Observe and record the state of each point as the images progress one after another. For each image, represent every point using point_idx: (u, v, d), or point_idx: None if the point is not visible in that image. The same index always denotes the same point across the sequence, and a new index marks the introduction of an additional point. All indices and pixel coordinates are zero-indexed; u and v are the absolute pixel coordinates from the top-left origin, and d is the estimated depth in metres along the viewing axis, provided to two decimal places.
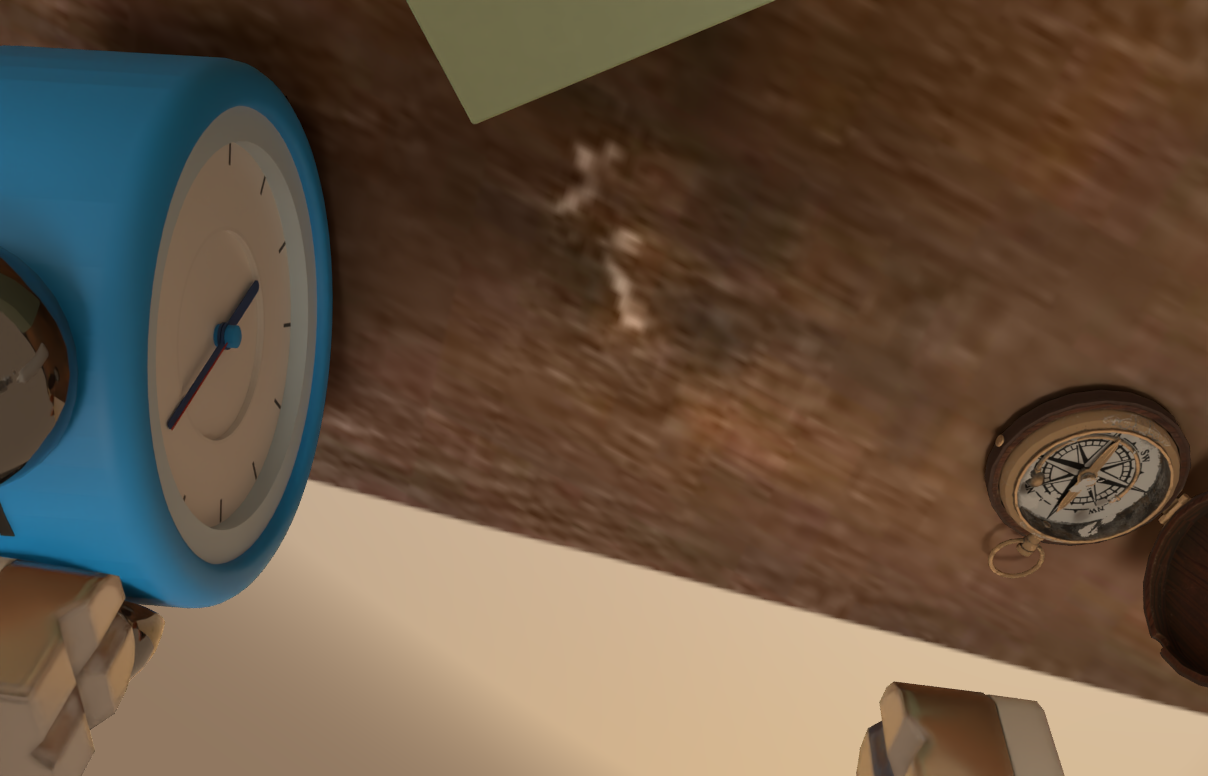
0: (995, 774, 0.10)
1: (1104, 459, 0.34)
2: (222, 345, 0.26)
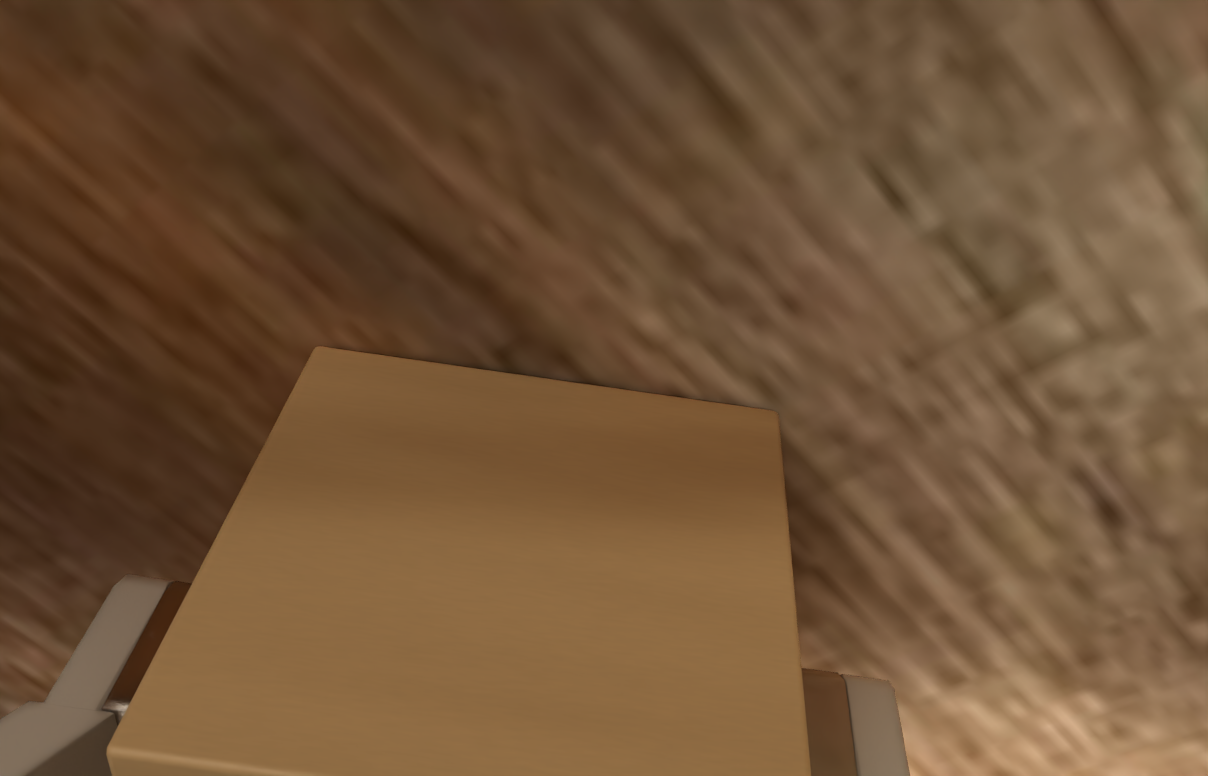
0: (835, 752, 0.10)
1: None
2: None
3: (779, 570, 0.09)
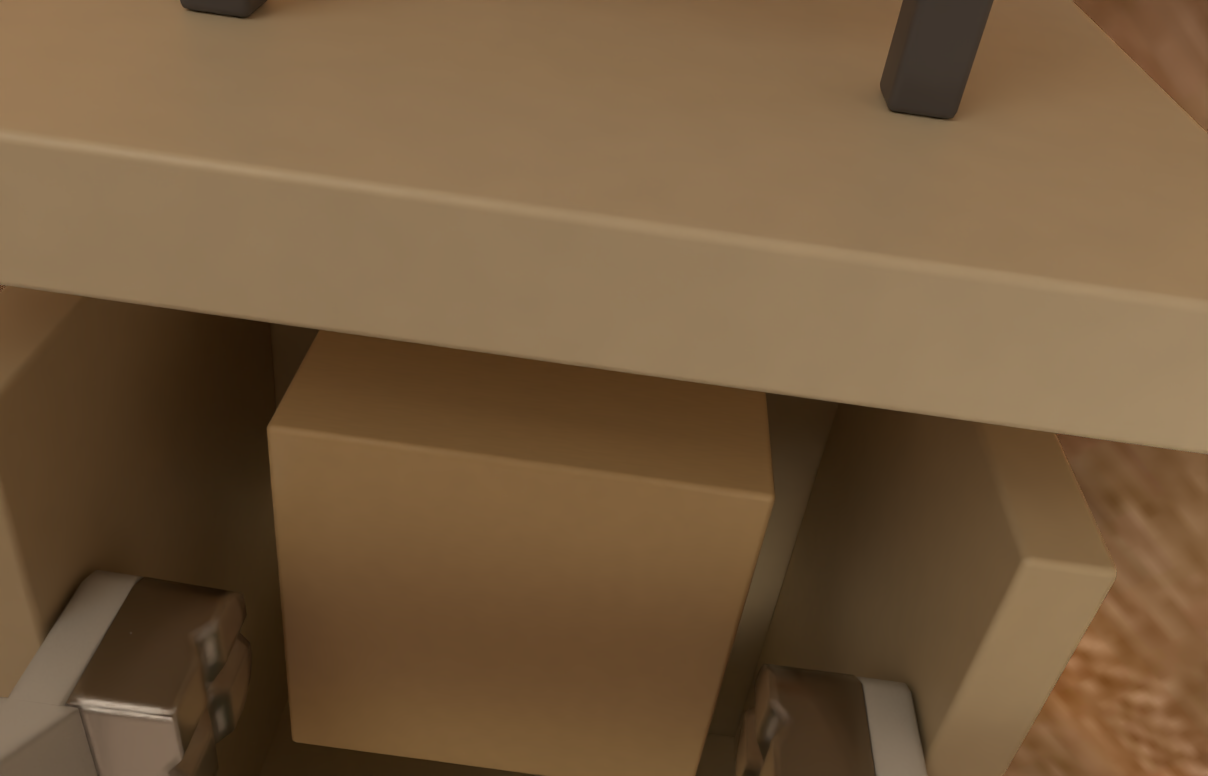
0: (852, 754, 0.10)
1: None
2: None
3: None
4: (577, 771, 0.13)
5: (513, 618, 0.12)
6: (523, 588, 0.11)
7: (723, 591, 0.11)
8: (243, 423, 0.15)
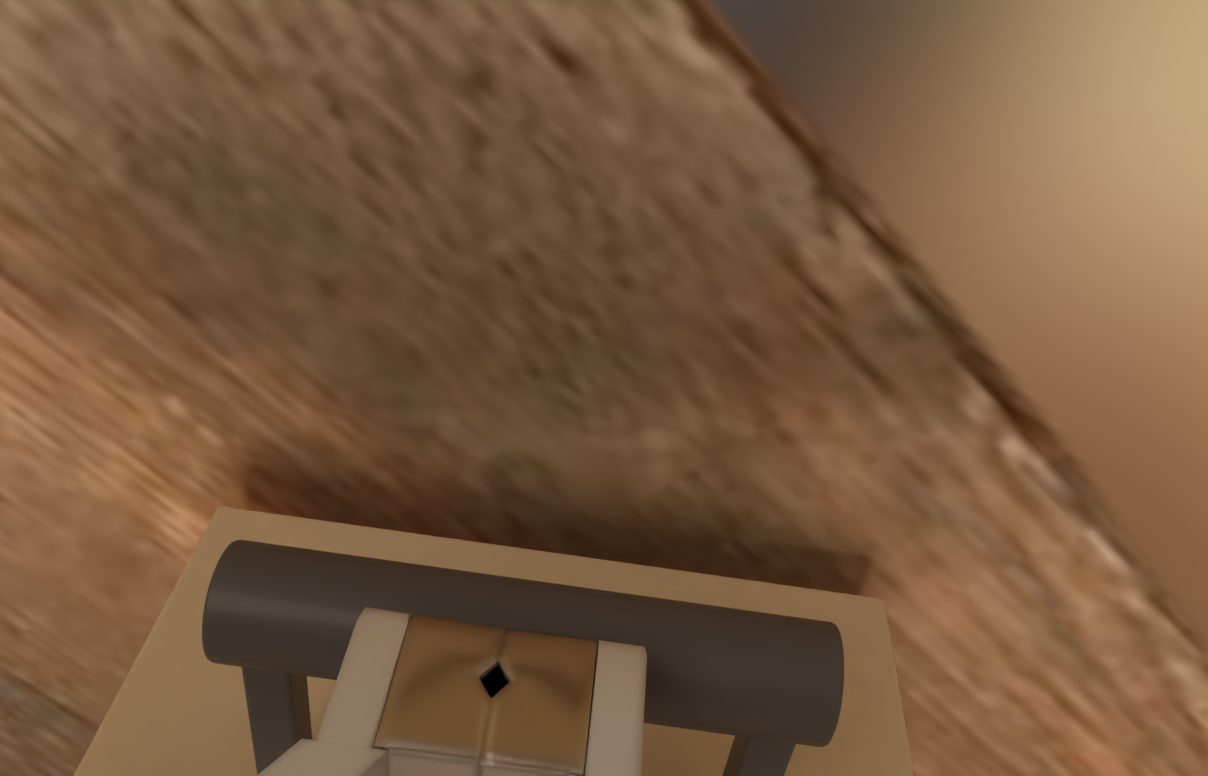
0: (569, 715, 0.10)
1: None
2: None
3: None
4: None
5: None
6: None
7: None
8: None
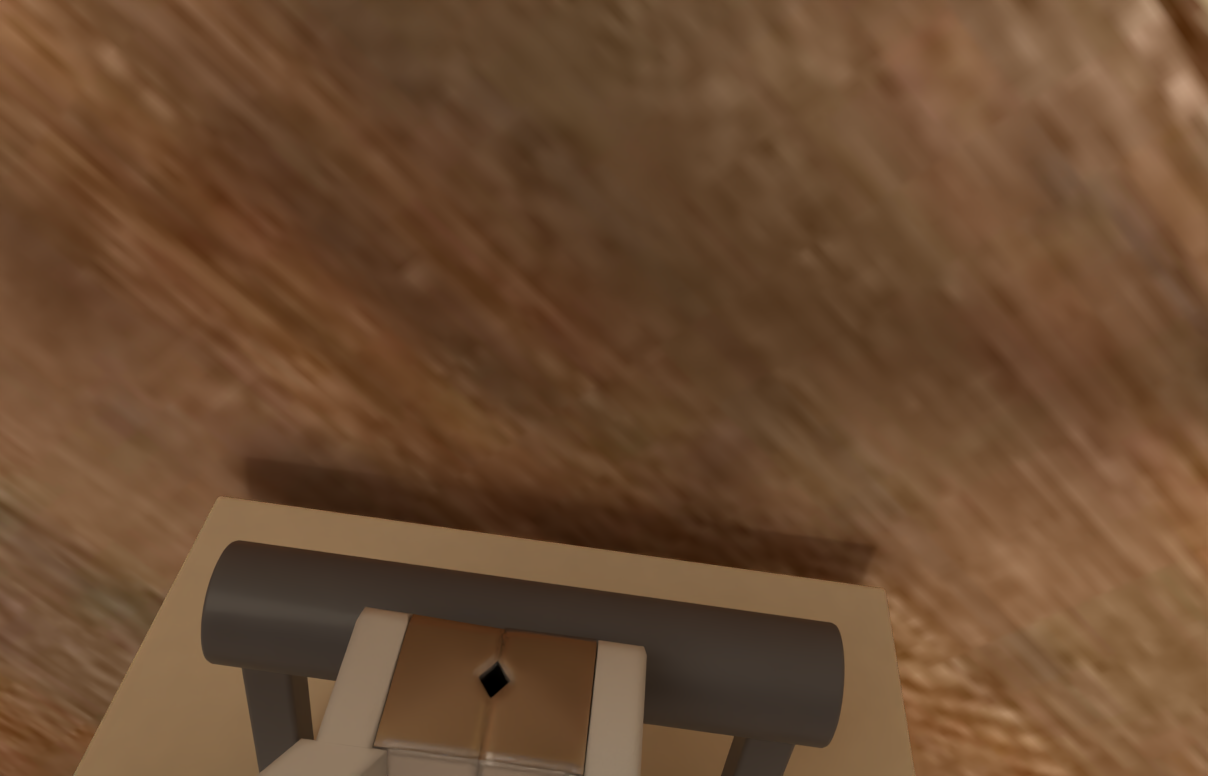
0: (568, 715, 0.10)
1: None
2: None
3: None
4: None
5: None
6: None
7: None
8: None
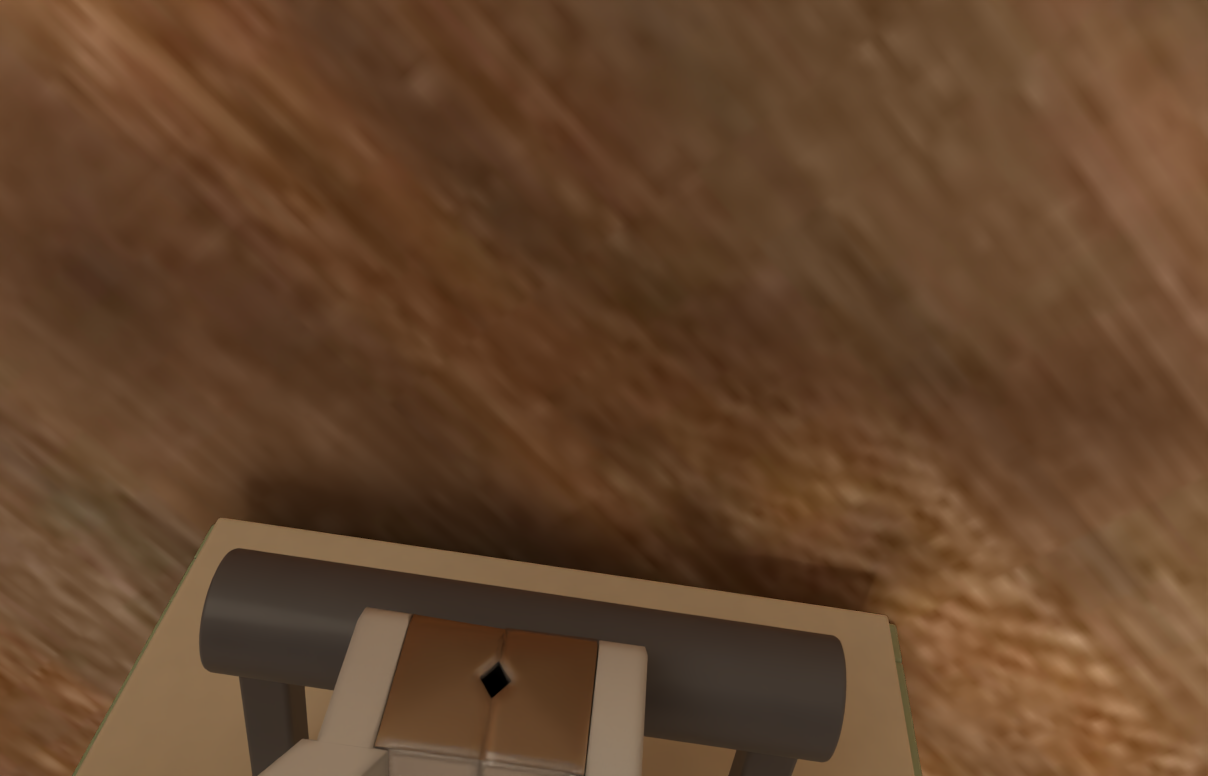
0: (569, 715, 0.10)
1: None
2: None
3: None
4: None
5: None
6: None
7: None
8: None
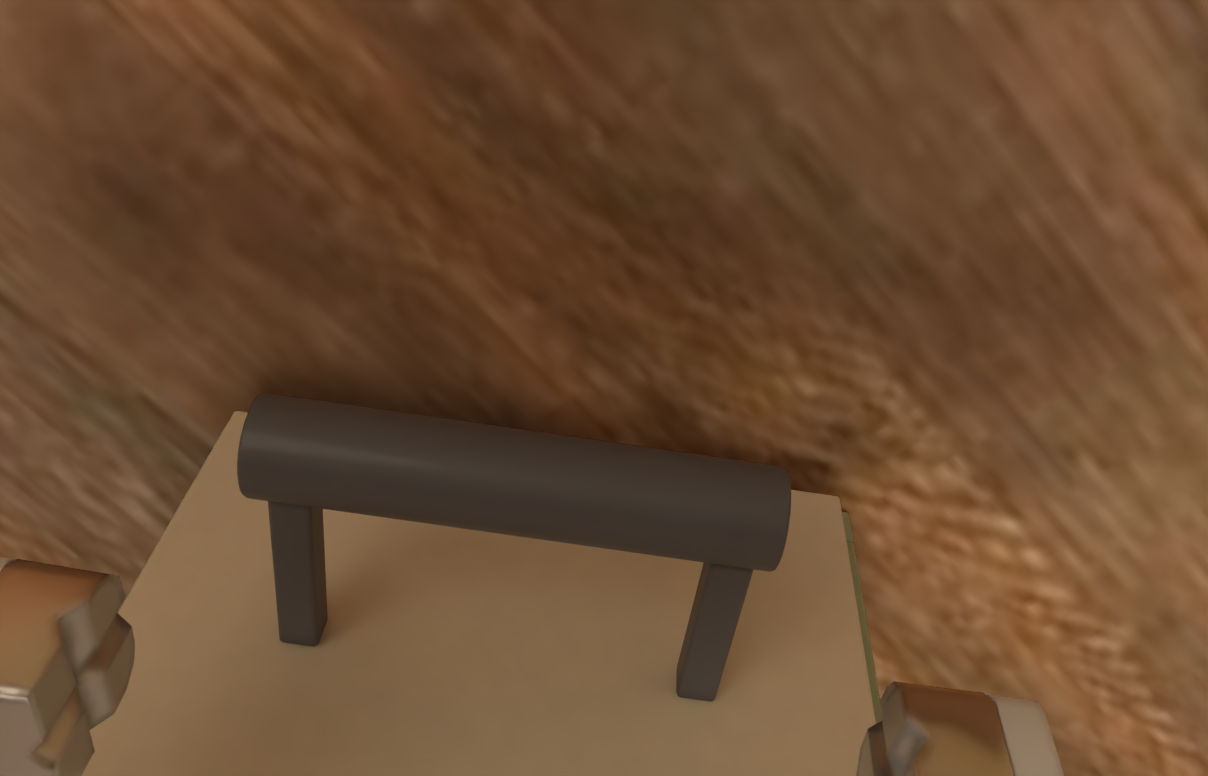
0: (995, 774, 0.10)
1: None
2: None
3: None
4: None
5: None
6: None
7: None
8: None
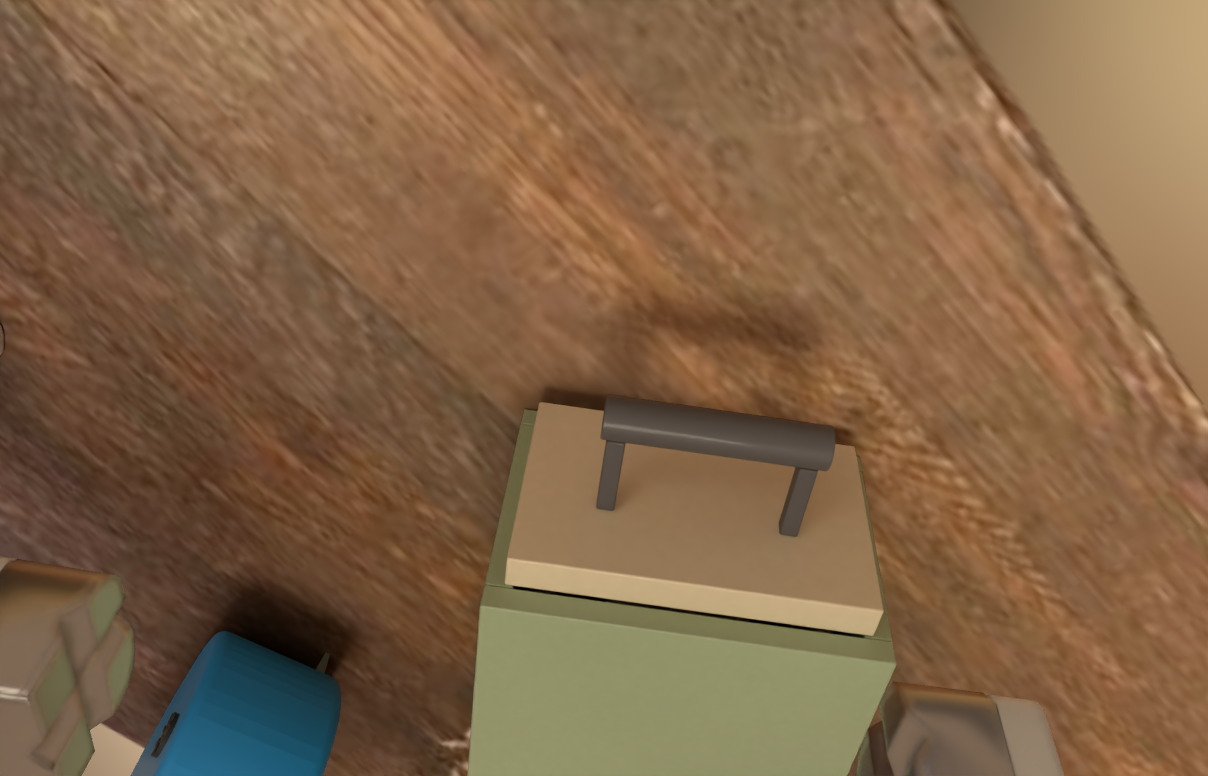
0: (995, 774, 0.10)
1: None
2: None
3: None
4: None
5: None
6: None
7: None
8: None
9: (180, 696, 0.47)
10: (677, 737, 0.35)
